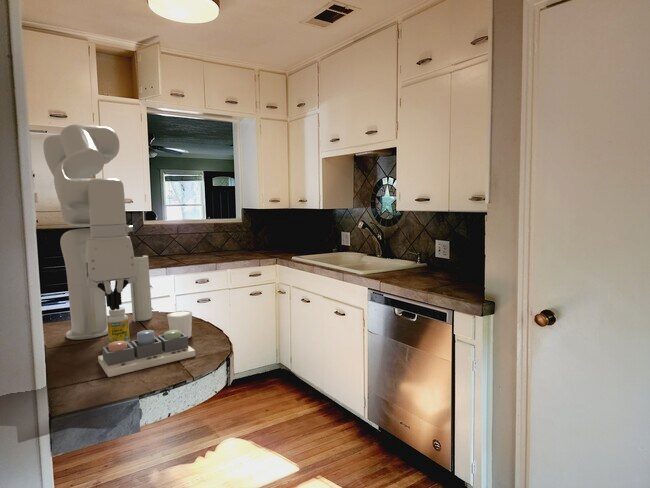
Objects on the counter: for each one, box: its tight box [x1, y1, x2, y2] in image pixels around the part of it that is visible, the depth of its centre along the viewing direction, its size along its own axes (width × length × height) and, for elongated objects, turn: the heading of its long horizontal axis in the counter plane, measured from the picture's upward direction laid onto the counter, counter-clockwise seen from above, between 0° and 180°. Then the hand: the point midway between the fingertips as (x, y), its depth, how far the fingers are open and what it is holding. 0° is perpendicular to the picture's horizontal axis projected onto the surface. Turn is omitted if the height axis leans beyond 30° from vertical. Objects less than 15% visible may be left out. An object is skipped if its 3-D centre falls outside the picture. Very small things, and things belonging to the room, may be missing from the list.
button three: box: [163, 330, 181, 340], centre depth 111 cm, size 4×4×4 cm
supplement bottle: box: [107, 306, 131, 344], centre depth 121 cm, size 5×5×10 cm
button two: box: [136, 329, 156, 346], centre depth 107 cm, size 4×4×4 cm
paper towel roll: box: [130, 255, 153, 323], centre depth 143 cm, size 7×6×21 cm
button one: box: [107, 341, 127, 352], centre depth 103 cm, size 4×4×4 cm
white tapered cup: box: [166, 310, 193, 339], centre depth 124 cm, size 7×7×7 cm
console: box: [97, 332, 196, 378], centre depth 107 cm, size 12×20×4 cm, turn 127°
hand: (114, 308), depth 102 cm, fingers closed
